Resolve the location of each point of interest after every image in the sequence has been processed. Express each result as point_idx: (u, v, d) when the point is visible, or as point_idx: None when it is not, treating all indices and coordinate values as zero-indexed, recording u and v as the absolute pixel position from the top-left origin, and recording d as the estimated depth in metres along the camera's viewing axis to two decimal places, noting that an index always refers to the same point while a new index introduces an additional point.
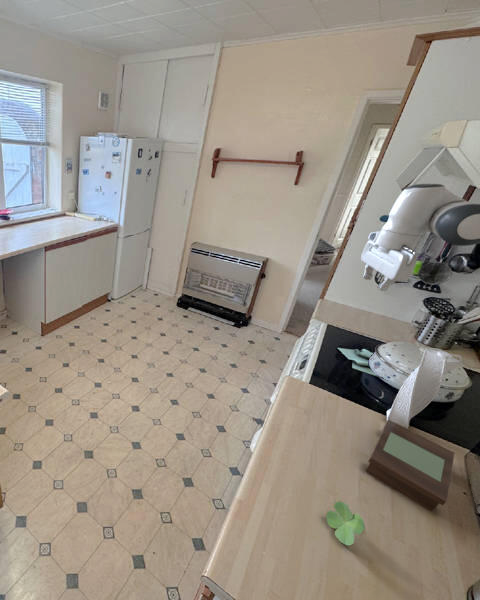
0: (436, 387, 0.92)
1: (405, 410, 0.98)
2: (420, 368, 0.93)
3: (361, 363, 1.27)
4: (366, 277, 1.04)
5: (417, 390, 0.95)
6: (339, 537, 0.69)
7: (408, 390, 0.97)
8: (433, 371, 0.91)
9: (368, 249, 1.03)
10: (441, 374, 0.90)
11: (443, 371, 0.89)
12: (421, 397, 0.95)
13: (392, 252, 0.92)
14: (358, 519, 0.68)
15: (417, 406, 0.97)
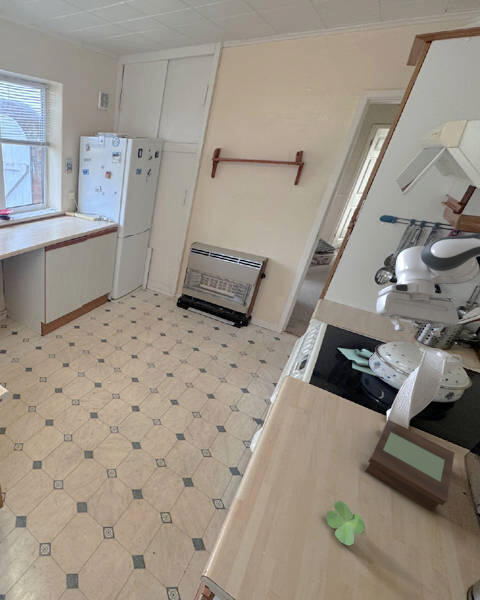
0: (436, 387, 0.92)
1: (405, 410, 0.98)
2: (420, 368, 0.93)
3: (361, 363, 1.27)
4: None
5: (417, 390, 0.95)
6: (339, 537, 0.69)
7: (408, 390, 0.97)
8: (433, 371, 0.91)
9: (392, 301, 1.04)
10: (441, 374, 0.90)
11: (443, 371, 0.89)
12: (421, 397, 0.95)
13: (435, 301, 1.02)
14: (358, 519, 0.68)
15: (417, 406, 0.97)
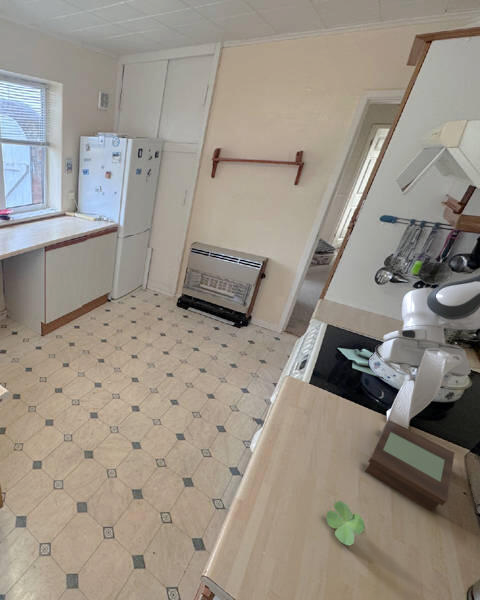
0: (436, 387, 0.92)
1: (405, 410, 0.98)
2: (420, 368, 0.93)
3: (361, 363, 1.27)
4: None
5: (417, 390, 0.95)
6: (339, 537, 0.69)
7: (408, 390, 0.97)
8: (433, 371, 0.91)
9: (398, 347, 0.97)
10: (441, 374, 0.90)
11: (443, 371, 0.89)
12: (421, 397, 0.95)
13: (445, 348, 0.95)
14: (358, 519, 0.68)
15: (417, 406, 0.97)
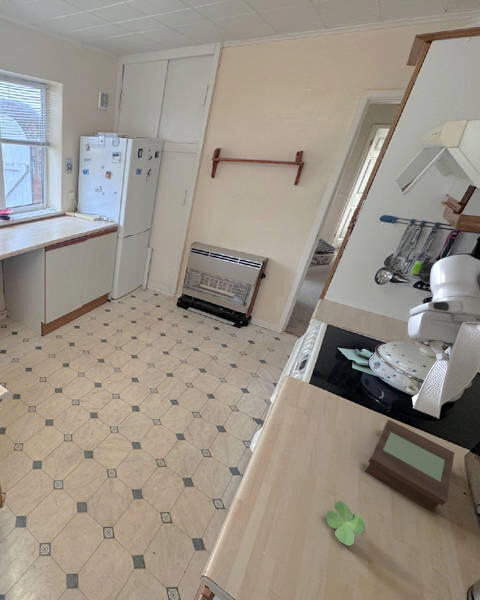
0: (475, 367, 0.78)
1: (436, 395, 0.85)
2: (456, 345, 0.80)
3: (361, 363, 1.27)
4: None
5: (451, 371, 0.81)
6: (339, 537, 0.69)
7: (440, 372, 0.84)
8: (472, 348, 0.78)
9: (429, 322, 0.83)
10: None
11: None
12: (456, 379, 0.81)
13: None
14: (358, 519, 0.68)
15: (450, 390, 0.83)
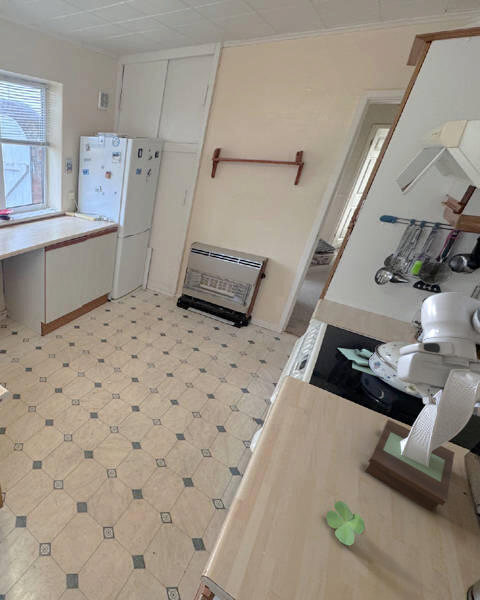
0: (465, 417, 0.74)
1: (425, 444, 0.81)
2: (444, 393, 0.76)
3: (361, 363, 1.27)
4: None
5: (440, 420, 0.77)
6: (339, 537, 0.69)
7: (428, 419, 0.80)
8: (461, 398, 0.74)
9: (419, 364, 0.79)
10: (472, 402, 0.72)
11: (474, 399, 0.72)
12: (445, 428, 0.77)
13: (477, 366, 0.77)
14: (358, 519, 0.68)
15: (440, 439, 0.79)
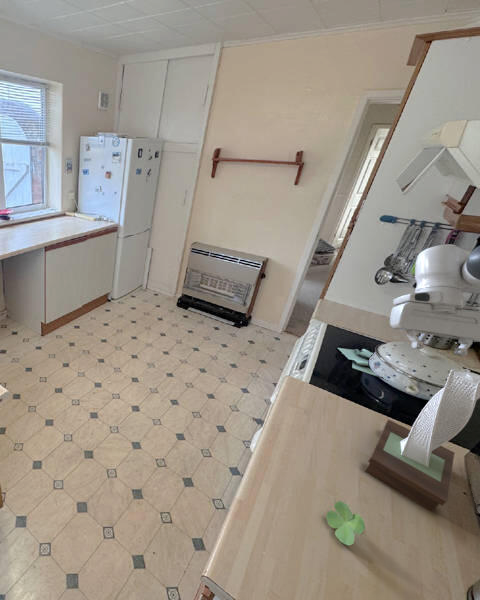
0: (464, 417, 0.74)
1: (425, 444, 0.81)
2: (444, 393, 0.76)
3: (361, 363, 1.27)
4: None
5: (440, 420, 0.77)
6: (339, 537, 0.69)
7: (428, 419, 0.80)
8: (461, 398, 0.74)
9: (410, 313, 0.87)
10: (472, 402, 0.72)
11: (474, 398, 0.72)
12: (445, 428, 0.77)
13: (462, 311, 0.85)
14: (358, 519, 0.68)
15: (439, 439, 0.79)
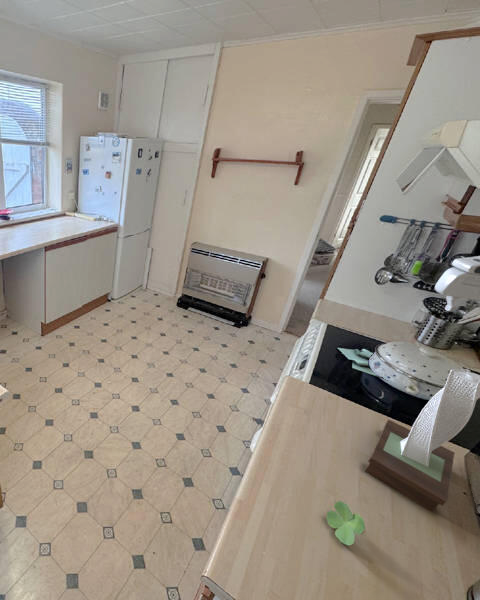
0: (464, 417, 0.74)
1: (425, 444, 0.81)
2: (444, 393, 0.76)
3: (361, 363, 1.27)
4: None
5: (440, 420, 0.77)
6: (339, 537, 0.69)
7: (428, 419, 0.80)
8: (461, 398, 0.74)
9: (460, 282, 0.86)
10: (472, 402, 0.72)
11: (474, 398, 0.72)
12: (445, 428, 0.77)
13: None
14: (358, 519, 0.68)
15: (439, 439, 0.79)
